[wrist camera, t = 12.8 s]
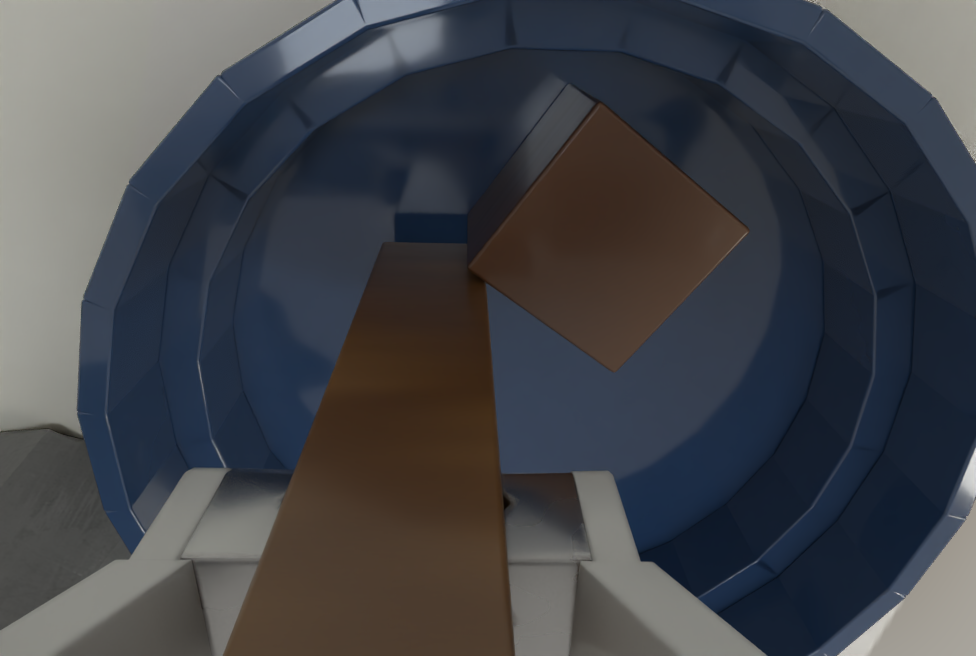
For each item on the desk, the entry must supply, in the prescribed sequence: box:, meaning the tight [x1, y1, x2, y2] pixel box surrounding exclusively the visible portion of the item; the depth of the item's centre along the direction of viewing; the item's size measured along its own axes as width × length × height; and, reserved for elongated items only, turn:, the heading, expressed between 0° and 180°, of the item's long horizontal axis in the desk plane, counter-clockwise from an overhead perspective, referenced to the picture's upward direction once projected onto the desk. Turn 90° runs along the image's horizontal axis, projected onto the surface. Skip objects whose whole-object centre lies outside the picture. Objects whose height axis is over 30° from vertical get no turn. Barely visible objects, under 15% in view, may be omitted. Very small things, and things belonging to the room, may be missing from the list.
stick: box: [223, 242, 515, 656], centre depth 10 cm, size 2×2×14 cm
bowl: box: [77, 0, 976, 656], centre depth 16 cm, size 19×19×6 cm
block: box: [467, 84, 750, 373], centre depth 15 cm, size 4×4×4 cm
